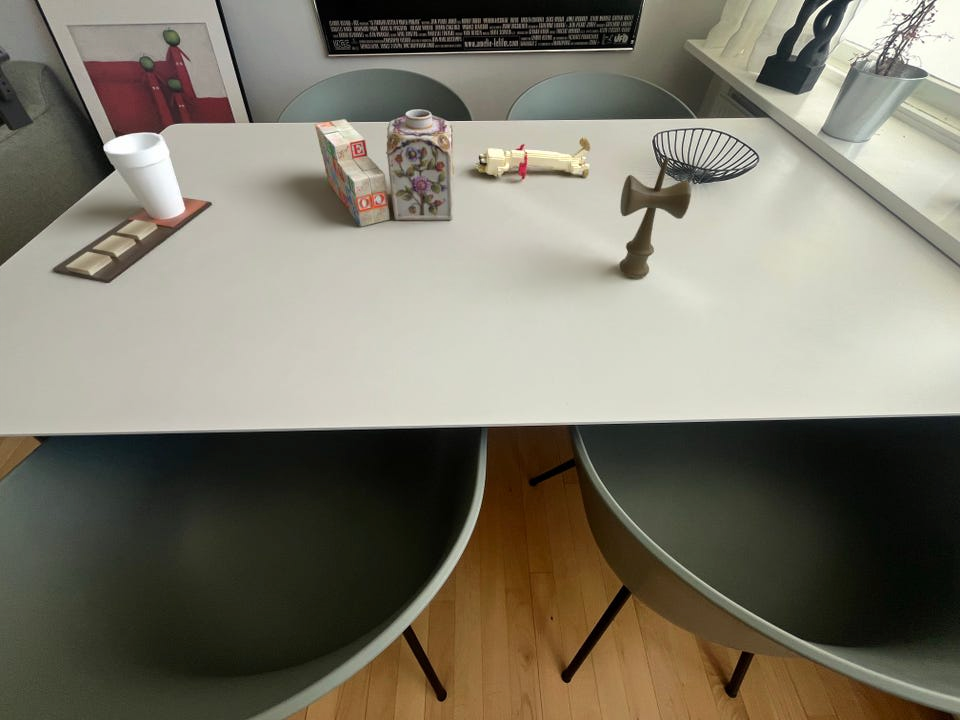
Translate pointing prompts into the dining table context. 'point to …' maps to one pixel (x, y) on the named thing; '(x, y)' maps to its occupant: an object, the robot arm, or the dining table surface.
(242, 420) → the dining table surface
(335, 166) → the stack of blocks
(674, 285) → the dining table surface
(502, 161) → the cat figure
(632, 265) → the kendama
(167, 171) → the foam cup
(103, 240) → the word board
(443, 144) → the decorative jar
